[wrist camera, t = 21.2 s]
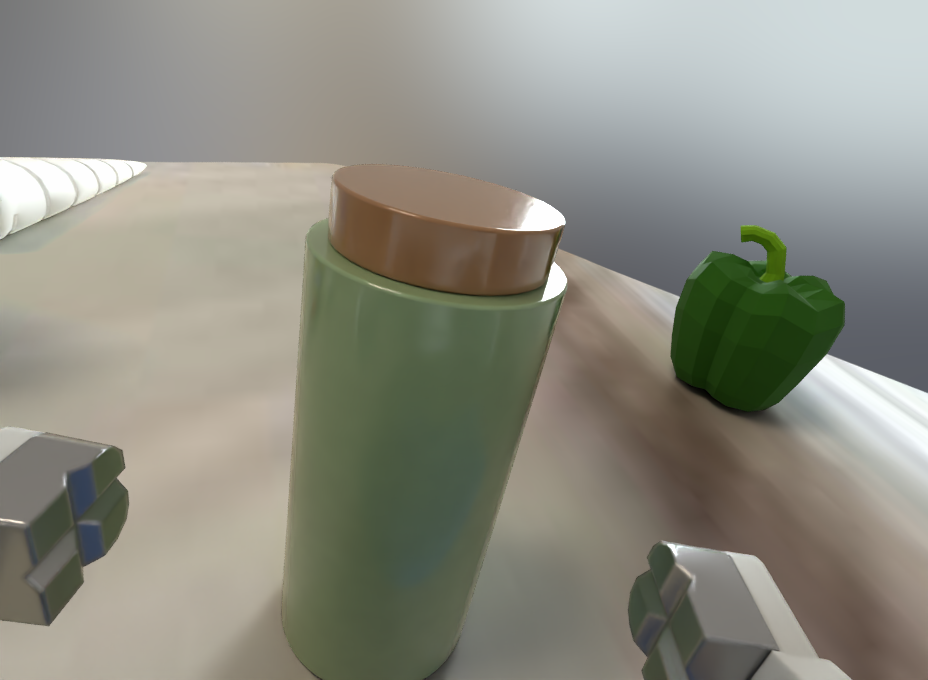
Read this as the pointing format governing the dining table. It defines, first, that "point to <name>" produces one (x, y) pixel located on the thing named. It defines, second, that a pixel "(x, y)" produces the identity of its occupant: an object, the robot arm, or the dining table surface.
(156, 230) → the dining table surface
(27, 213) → the unicorn horn
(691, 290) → the bell pepper
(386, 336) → the spice jar
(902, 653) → the dining table surface
